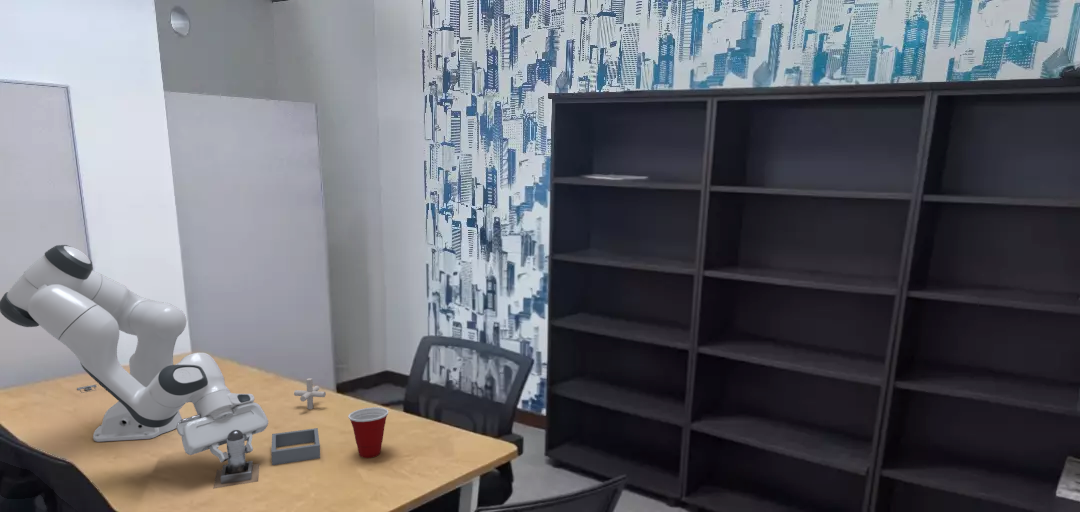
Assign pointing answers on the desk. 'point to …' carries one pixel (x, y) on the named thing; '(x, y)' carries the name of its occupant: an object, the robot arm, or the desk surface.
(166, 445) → the desk surface
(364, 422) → the plastic cup
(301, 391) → the pipe connector
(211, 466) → the desk surface
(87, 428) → the desk surface
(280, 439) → the bin
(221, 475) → the socket plate
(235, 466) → the strut
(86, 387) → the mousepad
